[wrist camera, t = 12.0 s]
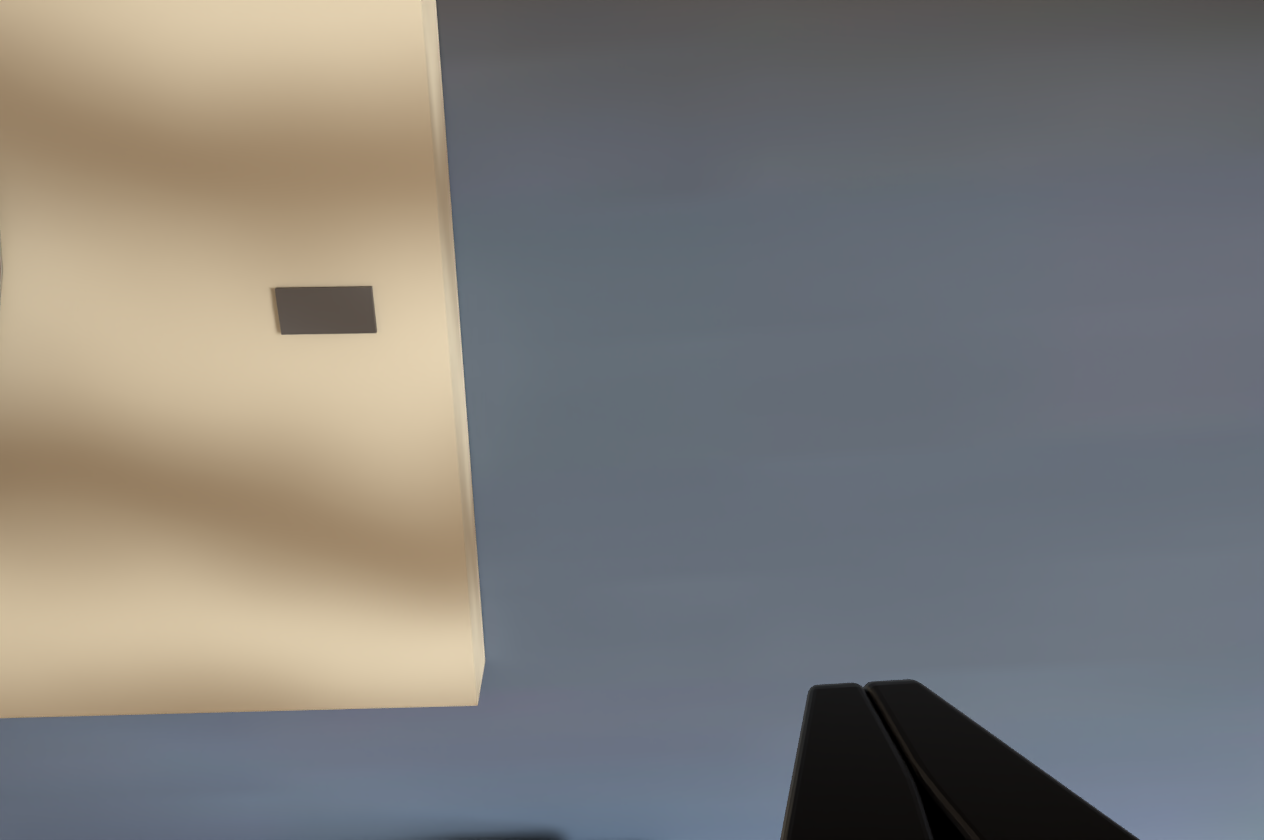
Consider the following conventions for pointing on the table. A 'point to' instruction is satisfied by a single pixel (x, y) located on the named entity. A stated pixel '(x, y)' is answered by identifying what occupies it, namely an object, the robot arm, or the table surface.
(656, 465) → the table surface
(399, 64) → the base plate
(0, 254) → the grey metal part
